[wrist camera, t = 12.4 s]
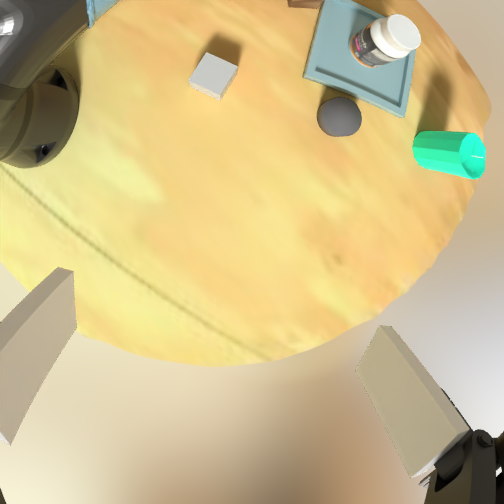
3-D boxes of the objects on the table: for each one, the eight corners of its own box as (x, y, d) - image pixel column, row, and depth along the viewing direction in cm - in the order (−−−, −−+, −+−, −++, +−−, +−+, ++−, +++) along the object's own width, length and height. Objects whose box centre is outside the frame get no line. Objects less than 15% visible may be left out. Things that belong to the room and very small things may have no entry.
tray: (302, 77, 31) (305, 74, 29) (323, -5, 26) (327, -10, 25) (398, 117, 33) (404, 117, 32) (411, 37, 29) (417, 35, 27)
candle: (430, 176, 37) (485, 191, 26) (406, 153, 35) (462, 161, 24) (444, 146, 35) (499, 154, 24) (421, 122, 34) (478, 123, 23)
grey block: (192, 87, 30) (188, 80, 27) (208, 62, 29) (206, 52, 26) (220, 100, 31) (219, 95, 28) (236, 75, 30) (237, 66, 26)
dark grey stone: (312, 129, 34) (320, 128, 31) (321, 95, 32) (329, 91, 29) (347, 141, 34) (356, 141, 32) (355, 107, 33) (365, 105, 30)
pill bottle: (348, 28, 28) (383, 2, 19) (384, 42, 29) (424, 23, 19) (345, 61, 30) (382, 40, 20) (382, 74, 30) (424, 60, 21)
